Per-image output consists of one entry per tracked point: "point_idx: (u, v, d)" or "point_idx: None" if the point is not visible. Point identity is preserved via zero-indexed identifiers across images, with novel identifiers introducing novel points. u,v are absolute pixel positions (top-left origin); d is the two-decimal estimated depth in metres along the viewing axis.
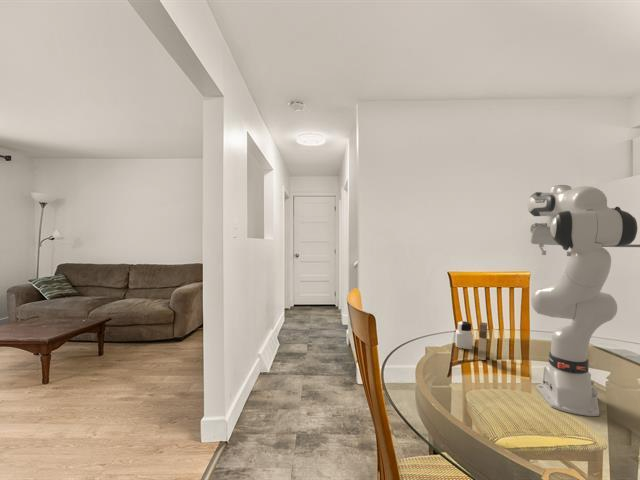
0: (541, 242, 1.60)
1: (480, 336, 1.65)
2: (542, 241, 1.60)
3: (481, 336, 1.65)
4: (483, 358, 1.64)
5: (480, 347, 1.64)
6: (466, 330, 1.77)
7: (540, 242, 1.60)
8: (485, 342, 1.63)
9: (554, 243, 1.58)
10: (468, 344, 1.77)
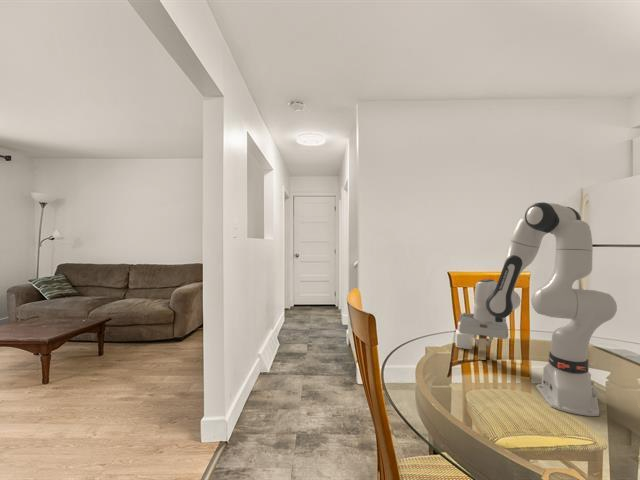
0: (468, 332, 1.67)
1: (480, 336, 1.65)
2: (469, 331, 1.66)
3: (481, 336, 1.65)
4: (483, 358, 1.64)
5: (480, 347, 1.64)
6: None
7: (467, 332, 1.67)
8: (485, 342, 1.63)
9: (480, 334, 1.65)
10: (468, 344, 1.77)
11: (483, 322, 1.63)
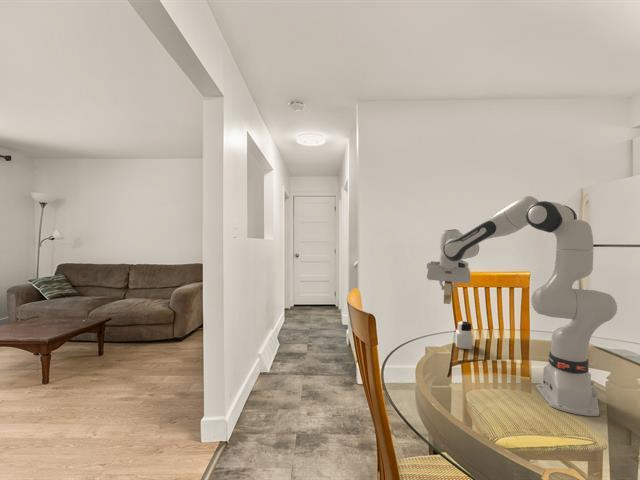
0: (434, 278, 1.82)
1: (445, 281, 1.80)
2: (435, 277, 1.82)
3: (446, 281, 1.80)
4: (448, 301, 1.79)
5: (445, 291, 1.79)
6: (466, 330, 1.77)
7: (434, 278, 1.82)
8: (449, 286, 1.78)
9: (445, 280, 1.80)
10: (468, 344, 1.77)
11: (447, 268, 1.78)
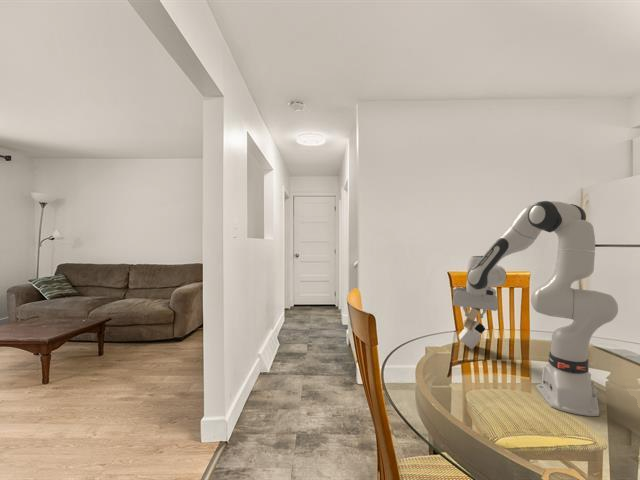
0: (461, 304, 1.79)
1: None
2: (462, 303, 1.78)
3: None
4: (468, 326, 1.77)
5: (470, 316, 1.76)
6: (478, 331, 1.76)
7: (460, 304, 1.79)
8: (477, 313, 1.75)
9: (471, 306, 1.77)
10: (472, 343, 1.76)
11: (475, 295, 1.74)
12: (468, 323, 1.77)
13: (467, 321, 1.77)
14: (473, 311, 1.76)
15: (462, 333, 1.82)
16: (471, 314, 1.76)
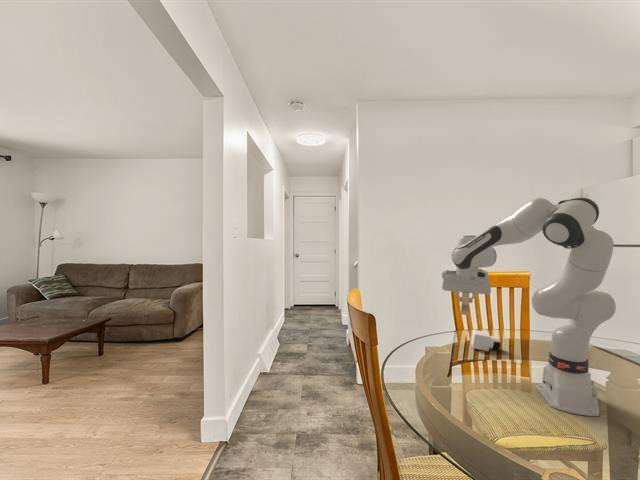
0: (451, 289, 1.66)
1: None
2: (452, 288, 1.66)
3: None
4: (466, 312, 1.63)
5: (463, 301, 1.64)
6: (493, 346, 1.75)
7: (450, 289, 1.66)
8: (468, 296, 1.63)
9: (462, 290, 1.64)
10: (479, 346, 1.76)
11: (466, 278, 1.62)
12: (464, 309, 1.64)
13: (462, 308, 1.64)
14: (463, 295, 1.63)
15: (479, 332, 1.79)
16: (463, 299, 1.64)
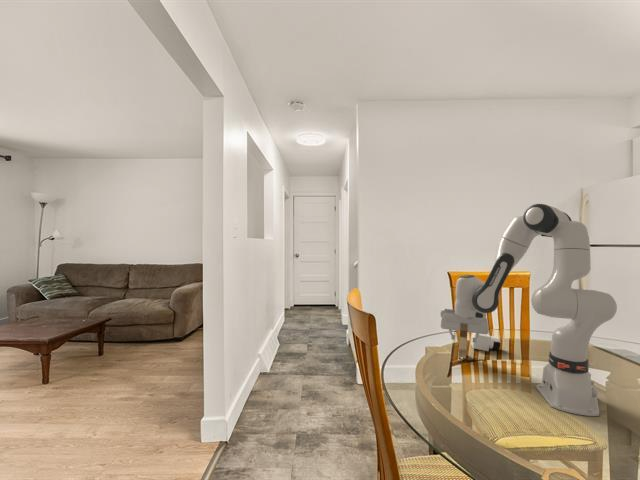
0: (449, 328, 1.68)
1: (461, 335, 1.66)
2: (450, 326, 1.67)
3: (461, 335, 1.66)
4: (463, 357, 1.65)
5: (460, 346, 1.65)
6: (493, 346, 1.75)
7: (448, 328, 1.68)
8: (465, 341, 1.64)
9: None
10: (479, 346, 1.76)
11: (464, 318, 1.64)
12: (462, 354, 1.65)
13: (460, 352, 1.66)
14: (461, 340, 1.65)
15: None
16: (460, 344, 1.65)
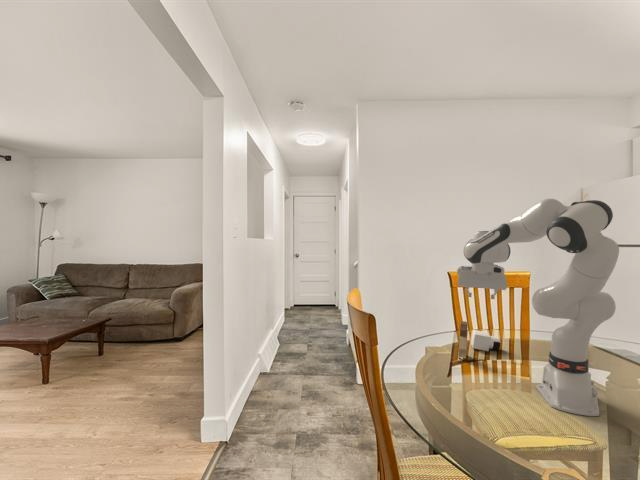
0: (466, 285, 1.66)
1: (461, 335, 1.66)
2: (468, 283, 1.65)
3: (461, 335, 1.66)
4: (463, 357, 1.65)
5: (460, 346, 1.65)
6: (493, 346, 1.75)
7: (465, 285, 1.66)
8: (465, 341, 1.64)
9: (478, 286, 1.64)
10: (479, 346, 1.76)
11: (481, 273, 1.62)
12: (462, 354, 1.65)
13: (460, 352, 1.66)
14: (461, 340, 1.65)
15: (479, 332, 1.79)
16: (460, 344, 1.65)
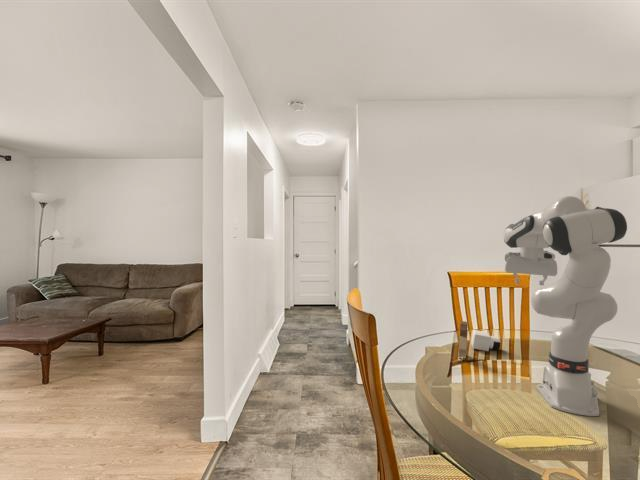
0: (515, 271, 1.65)
1: (461, 335, 1.66)
2: (516, 270, 1.64)
3: (461, 335, 1.66)
4: (463, 357, 1.65)
5: (460, 346, 1.65)
6: (493, 346, 1.75)
7: (514, 271, 1.65)
8: (465, 341, 1.64)
9: (527, 272, 1.63)
10: (479, 346, 1.76)
11: (531, 259, 1.61)
12: (462, 354, 1.65)
13: (460, 352, 1.66)
14: (461, 340, 1.65)
15: (479, 332, 1.79)
16: (460, 344, 1.65)
